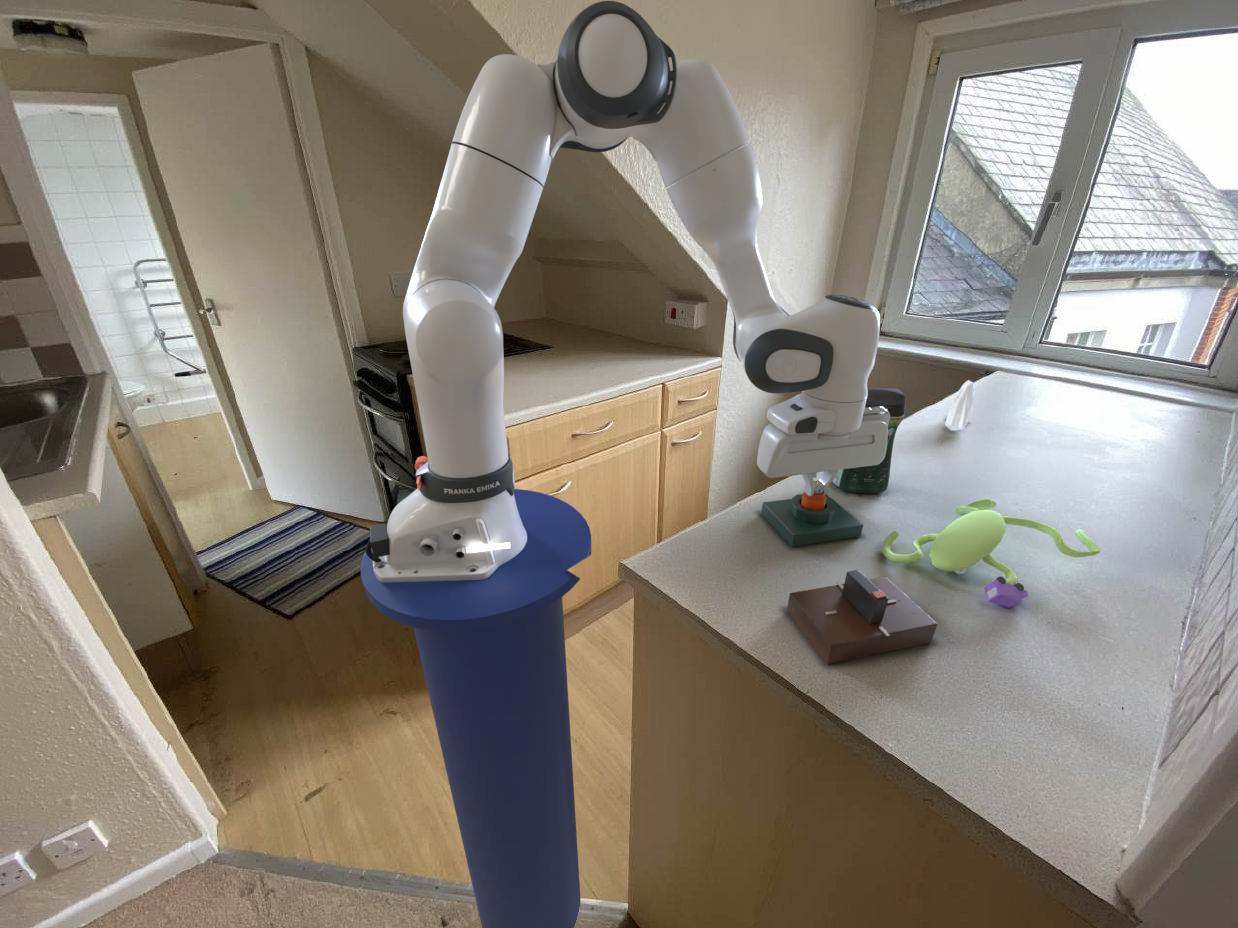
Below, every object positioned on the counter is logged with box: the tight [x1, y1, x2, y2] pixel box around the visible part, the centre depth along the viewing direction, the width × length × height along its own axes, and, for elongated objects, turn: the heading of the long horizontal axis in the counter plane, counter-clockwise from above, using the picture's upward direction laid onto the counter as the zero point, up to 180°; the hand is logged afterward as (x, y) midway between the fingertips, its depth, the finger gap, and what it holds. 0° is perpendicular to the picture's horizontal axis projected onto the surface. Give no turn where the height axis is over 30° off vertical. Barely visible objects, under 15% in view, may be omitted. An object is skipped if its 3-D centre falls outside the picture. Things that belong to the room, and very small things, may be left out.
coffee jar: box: [831, 387, 907, 494], centre depth 94 cm, size 10×8×19 cm
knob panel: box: [786, 576, 938, 665], centre depth 65 cm, size 14×10×3 cm
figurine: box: [881, 499, 1102, 608], centre depth 76 cm, size 18×27×6 cm
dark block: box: [842, 569, 888, 624], centre depth 63 cm, size 6×2×4 cm, turn 14°
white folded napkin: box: [944, 380, 976, 432], centre depth 121 cm, size 12×4×11 cm, turn 143°
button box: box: [760, 493, 864, 548], centre depth 85 cm, size 12×10×4 cm
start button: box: [801, 491, 826, 511], centre depth 84 cm, size 4×4×2 cm
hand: (815, 493), depth 83 cm, fingers closed
